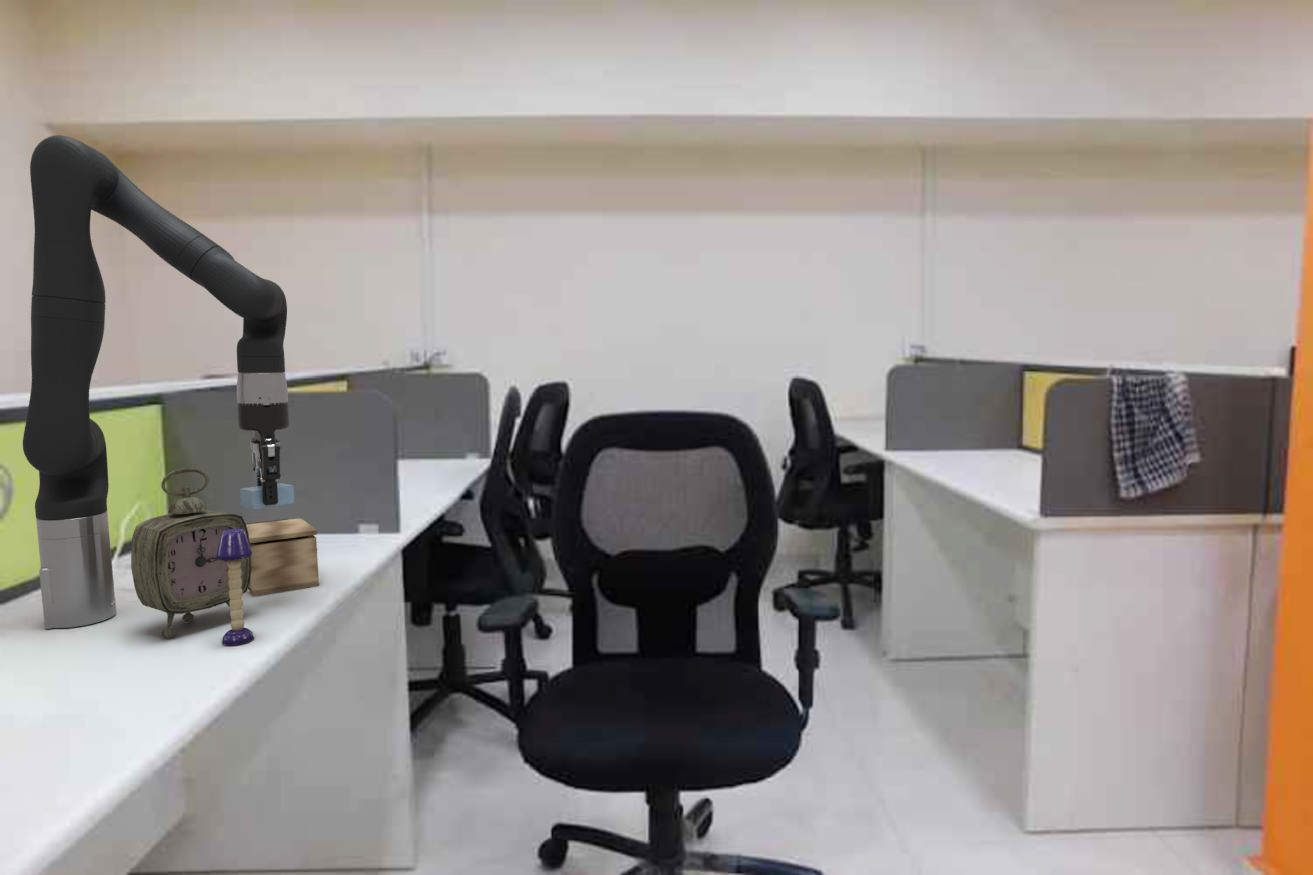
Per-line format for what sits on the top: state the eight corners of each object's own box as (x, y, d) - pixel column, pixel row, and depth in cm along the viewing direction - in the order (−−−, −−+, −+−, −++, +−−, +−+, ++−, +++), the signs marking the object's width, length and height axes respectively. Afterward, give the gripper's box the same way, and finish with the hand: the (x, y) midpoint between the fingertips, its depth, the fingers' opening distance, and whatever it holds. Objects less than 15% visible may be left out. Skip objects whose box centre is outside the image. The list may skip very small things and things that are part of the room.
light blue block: (253, 509, 129) (252, 491, 128) (240, 506, 131) (239, 488, 131) (294, 502, 134) (293, 485, 134) (281, 500, 136) (281, 483, 136)
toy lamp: (224, 636, 120) (217, 528, 118) (259, 632, 121) (252, 525, 119) (219, 647, 115) (211, 535, 113) (255, 643, 117) (248, 532, 115)
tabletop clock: (160, 644, 117) (147, 476, 114) (131, 633, 122) (117, 472, 119) (255, 616, 129) (245, 464, 126) (225, 607, 134) (214, 460, 131)
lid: (247, 543, 139) (247, 538, 139) (236, 529, 152) (236, 525, 152) (317, 534, 145) (316, 530, 145) (301, 522, 158) (300, 518, 158)
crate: (252, 596, 140) (249, 546, 139) (241, 575, 153) (237, 530, 152) (319, 585, 146) (316, 537, 145) (302, 566, 159) (299, 522, 158)
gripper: (232, 399, 135) (237, 497, 136) (242, 403, 123) (248, 511, 124) (280, 397, 139) (285, 493, 140) (295, 401, 127) (300, 506, 129)
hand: (267, 501), depth 132 cm, fingers closed on light blue block, 5 cm apart
